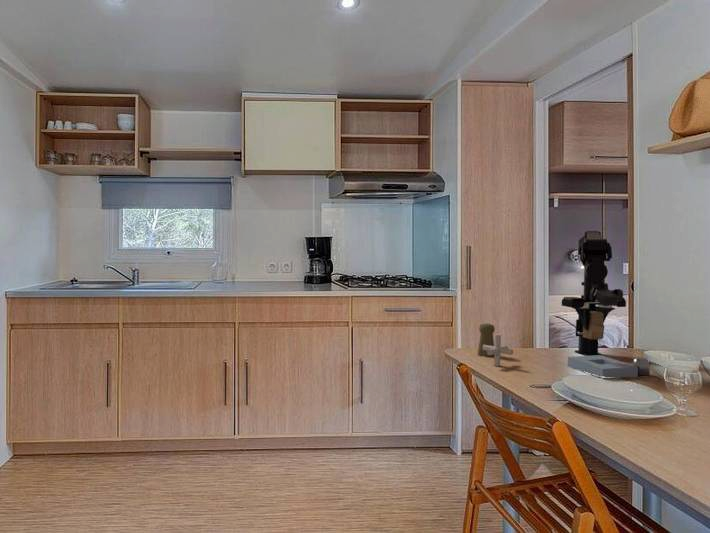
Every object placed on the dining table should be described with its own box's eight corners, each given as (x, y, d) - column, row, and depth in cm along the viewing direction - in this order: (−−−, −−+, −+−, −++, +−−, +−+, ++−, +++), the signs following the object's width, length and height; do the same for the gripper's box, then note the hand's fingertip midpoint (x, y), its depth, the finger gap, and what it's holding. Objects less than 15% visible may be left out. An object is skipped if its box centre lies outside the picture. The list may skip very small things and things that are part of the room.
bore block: (567, 366, 163) (567, 356, 163) (599, 364, 166) (600, 355, 165) (602, 379, 147) (602, 368, 147) (637, 377, 150) (637, 366, 150)
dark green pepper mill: (481, 352, 182) (482, 321, 182) (497, 354, 179) (498, 323, 178) (474, 355, 178) (475, 324, 177) (491, 357, 174) (492, 325, 174)
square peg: (582, 336, 159) (583, 311, 159) (594, 336, 160) (594, 311, 159) (591, 339, 155) (592, 313, 155) (602, 338, 156) (603, 313, 155)
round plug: (628, 373, 154) (629, 357, 154) (641, 372, 155) (642, 356, 155) (640, 377, 150) (640, 360, 150) (653, 376, 151) (653, 359, 151)
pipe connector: (491, 360, 170) (492, 330, 169) (519, 365, 163) (519, 334, 162) (475, 365, 163) (475, 334, 162) (503, 371, 156) (504, 338, 155)
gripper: (584, 281, 147) (582, 335, 148) (640, 281, 151) (638, 333, 151) (561, 278, 158) (559, 328, 158) (614, 278, 162) (612, 327, 162)
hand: (592, 329), depth 157 cm, fingers closed on square peg, 4 cm apart
